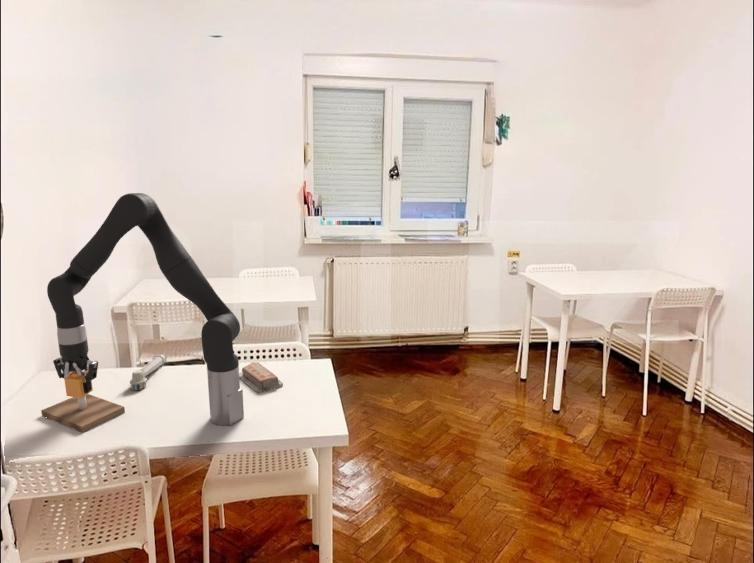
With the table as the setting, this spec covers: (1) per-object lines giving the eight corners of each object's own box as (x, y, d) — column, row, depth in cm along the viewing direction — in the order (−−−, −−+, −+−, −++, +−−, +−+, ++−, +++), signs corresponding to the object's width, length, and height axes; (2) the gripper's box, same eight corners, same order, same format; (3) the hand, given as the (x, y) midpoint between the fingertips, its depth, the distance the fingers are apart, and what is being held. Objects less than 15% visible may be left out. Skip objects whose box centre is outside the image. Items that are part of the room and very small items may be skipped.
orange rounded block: (92, 390, 164) (90, 369, 162) (81, 397, 159) (78, 376, 157) (78, 388, 165) (75, 368, 163) (66, 396, 160) (63, 374, 158)
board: (124, 412, 166) (124, 406, 165) (82, 432, 154) (82, 426, 153) (84, 398, 175) (84, 392, 174) (42, 416, 163) (41, 410, 162)
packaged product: (283, 374, 185) (257, 382, 179) (284, 387, 186) (258, 395, 180) (261, 358, 199) (236, 364, 193) (261, 370, 200) (236, 376, 194)
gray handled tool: (168, 353, 204) (141, 371, 179) (168, 370, 205) (142, 390, 180) (154, 353, 204) (126, 371, 179) (155, 370, 204) (127, 390, 180)
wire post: (88, 407, 164) (85, 385, 162) (81, 410, 162) (78, 388, 161) (84, 406, 165) (81, 384, 163) (77, 409, 163) (74, 387, 162)
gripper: (102, 337, 160) (108, 388, 164) (61, 333, 162) (68, 384, 167) (84, 345, 153) (91, 399, 157) (41, 341, 155) (49, 394, 159)
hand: (79, 391), depth 162 cm, fingers closed on orange rounded block, 5 cm apart
